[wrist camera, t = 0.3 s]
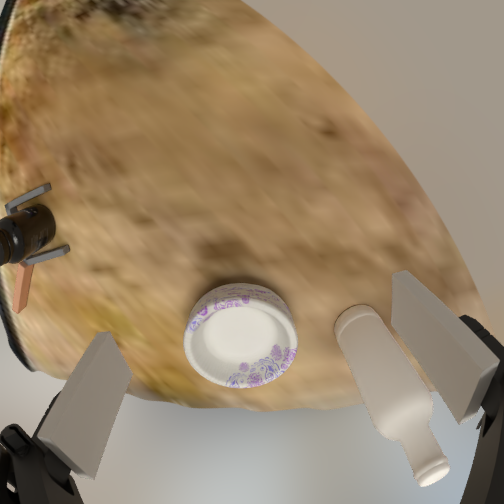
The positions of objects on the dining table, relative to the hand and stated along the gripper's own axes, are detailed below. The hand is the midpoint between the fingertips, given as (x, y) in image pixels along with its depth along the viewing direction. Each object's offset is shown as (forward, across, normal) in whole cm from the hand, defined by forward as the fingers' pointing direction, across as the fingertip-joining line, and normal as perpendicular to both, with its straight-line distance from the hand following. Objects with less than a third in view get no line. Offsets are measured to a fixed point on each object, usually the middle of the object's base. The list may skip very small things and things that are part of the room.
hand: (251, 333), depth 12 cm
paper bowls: (+28, -4, -17) cm, 33 cm away
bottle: (+28, +13, -23) cm, 39 cm away
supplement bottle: (+28, -32, +6) cm, 43 cm away
